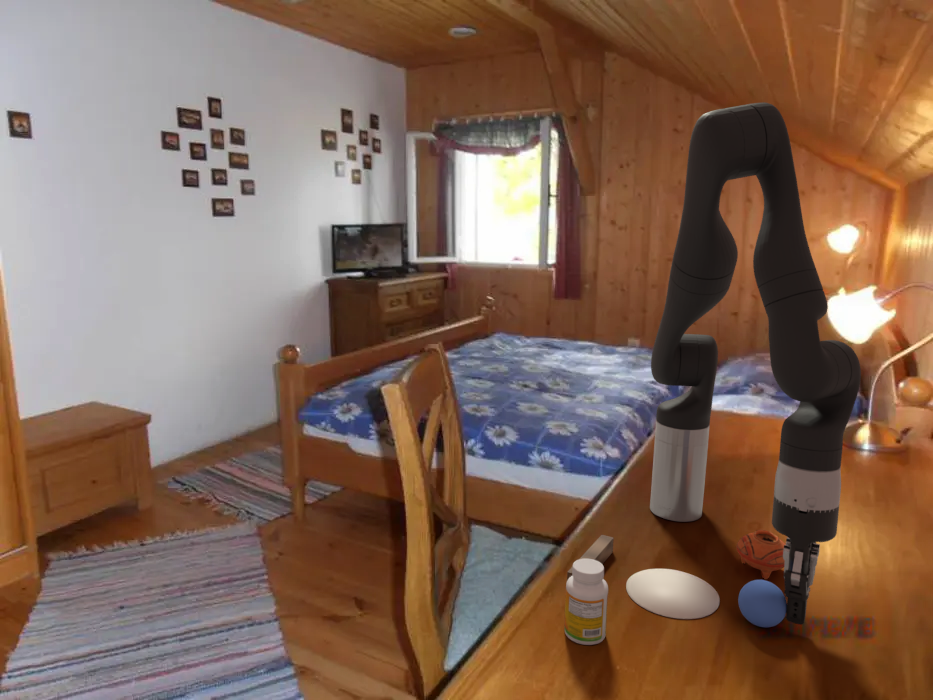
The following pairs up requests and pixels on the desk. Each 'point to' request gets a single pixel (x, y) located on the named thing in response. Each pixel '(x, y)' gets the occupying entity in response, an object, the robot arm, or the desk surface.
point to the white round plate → (672, 593)
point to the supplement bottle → (586, 603)
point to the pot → (762, 551)
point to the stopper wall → (597, 551)
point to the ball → (762, 603)
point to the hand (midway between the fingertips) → (795, 620)
